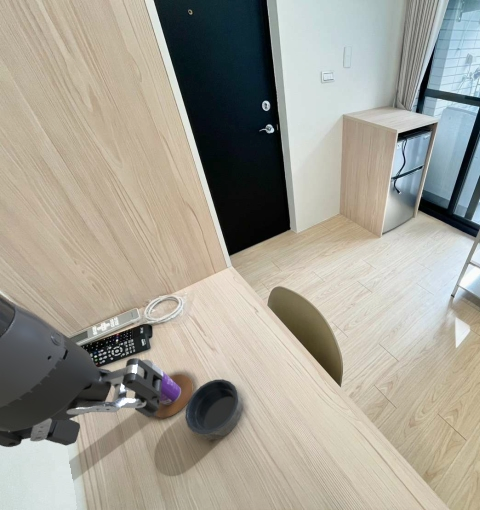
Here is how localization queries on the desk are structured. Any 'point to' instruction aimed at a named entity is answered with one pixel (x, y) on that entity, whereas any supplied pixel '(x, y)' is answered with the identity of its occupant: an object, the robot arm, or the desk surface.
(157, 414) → the coaster
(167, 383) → the container
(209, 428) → the bowl
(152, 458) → the desk surface
